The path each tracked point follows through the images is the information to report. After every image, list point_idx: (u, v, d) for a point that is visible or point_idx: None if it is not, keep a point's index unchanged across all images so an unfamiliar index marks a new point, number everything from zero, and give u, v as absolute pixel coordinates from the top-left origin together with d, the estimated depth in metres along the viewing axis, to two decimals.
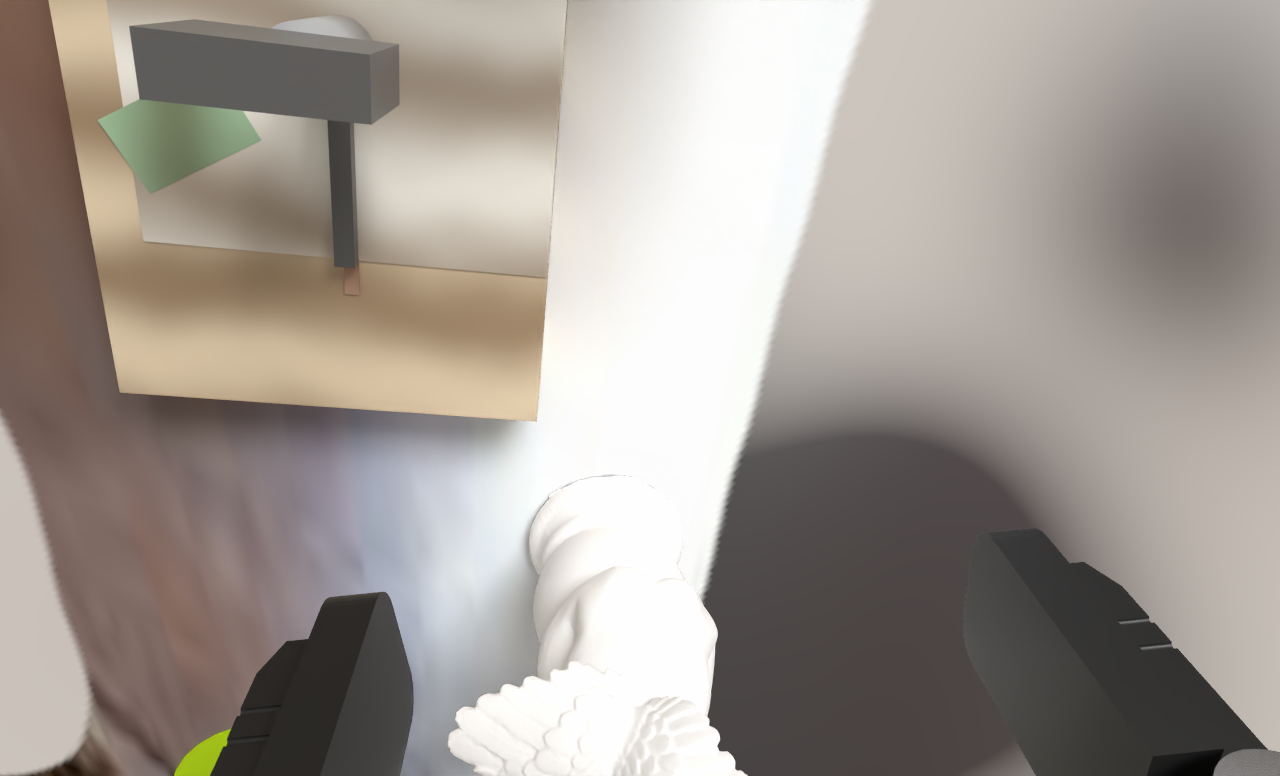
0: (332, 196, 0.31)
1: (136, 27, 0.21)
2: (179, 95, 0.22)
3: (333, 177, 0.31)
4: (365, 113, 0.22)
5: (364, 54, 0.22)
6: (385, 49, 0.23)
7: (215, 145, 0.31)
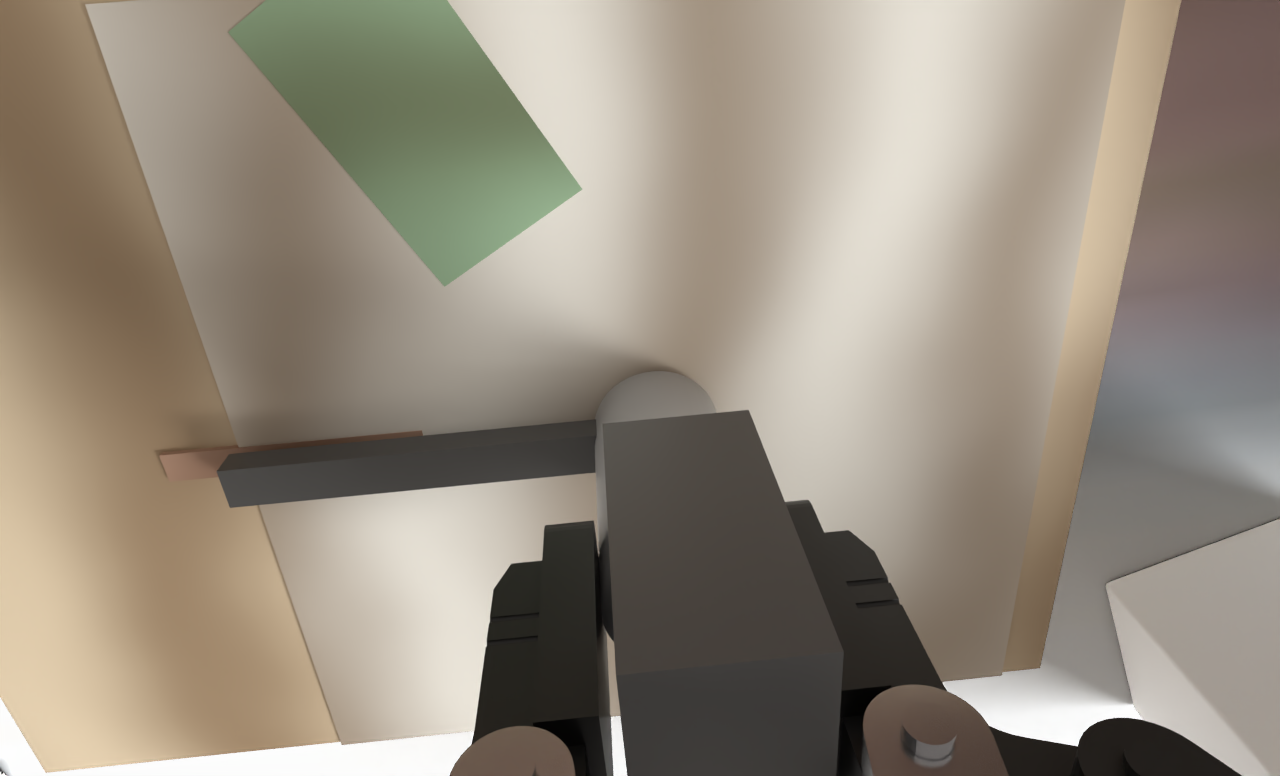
0: (374, 458, 0.15)
1: (841, 669, 0.06)
2: (651, 762, 0.07)
3: (415, 457, 0.15)
4: None
5: None
6: None
7: (403, 193, 0.14)
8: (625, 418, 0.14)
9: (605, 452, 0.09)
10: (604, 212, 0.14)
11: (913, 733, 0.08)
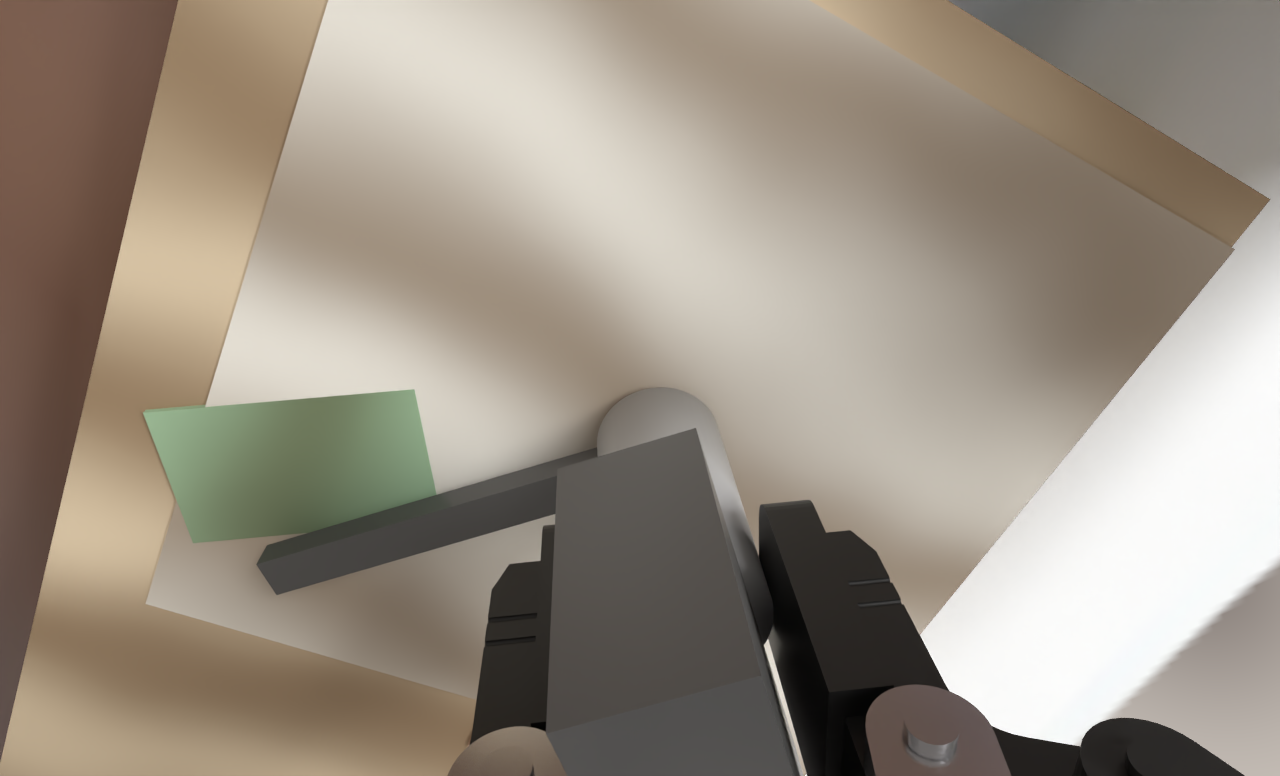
0: (394, 526, 0.15)
1: (764, 691, 0.07)
2: None
3: (432, 517, 0.15)
4: None
5: None
6: None
7: (354, 507, 0.16)
8: (616, 444, 0.14)
9: (557, 499, 0.10)
10: (444, 380, 0.15)
11: (915, 733, 0.08)
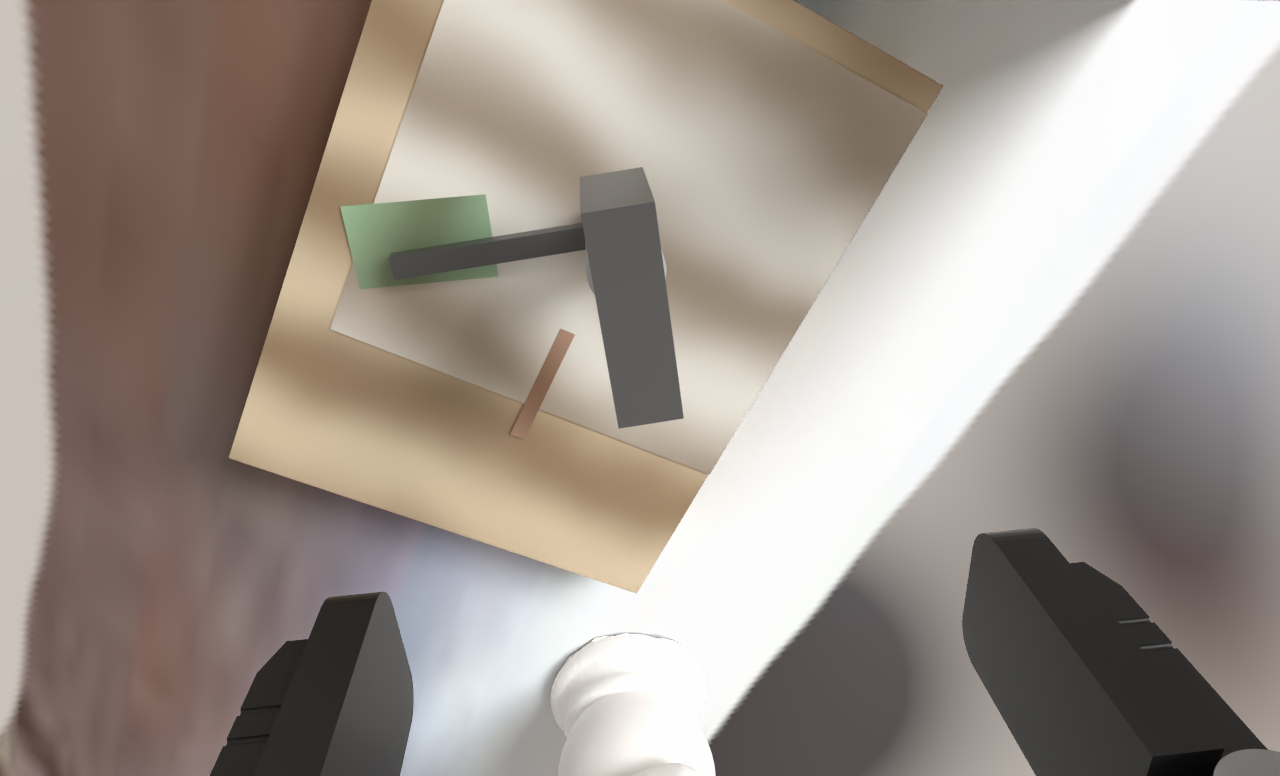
0: (469, 246, 0.28)
1: (655, 209, 0.19)
2: (596, 253, 0.20)
3: (490, 245, 0.28)
4: (627, 422, 0.22)
5: (682, 413, 0.22)
6: None
7: None
8: None
9: (580, 182, 0.22)
10: (501, 189, 0.28)
11: None
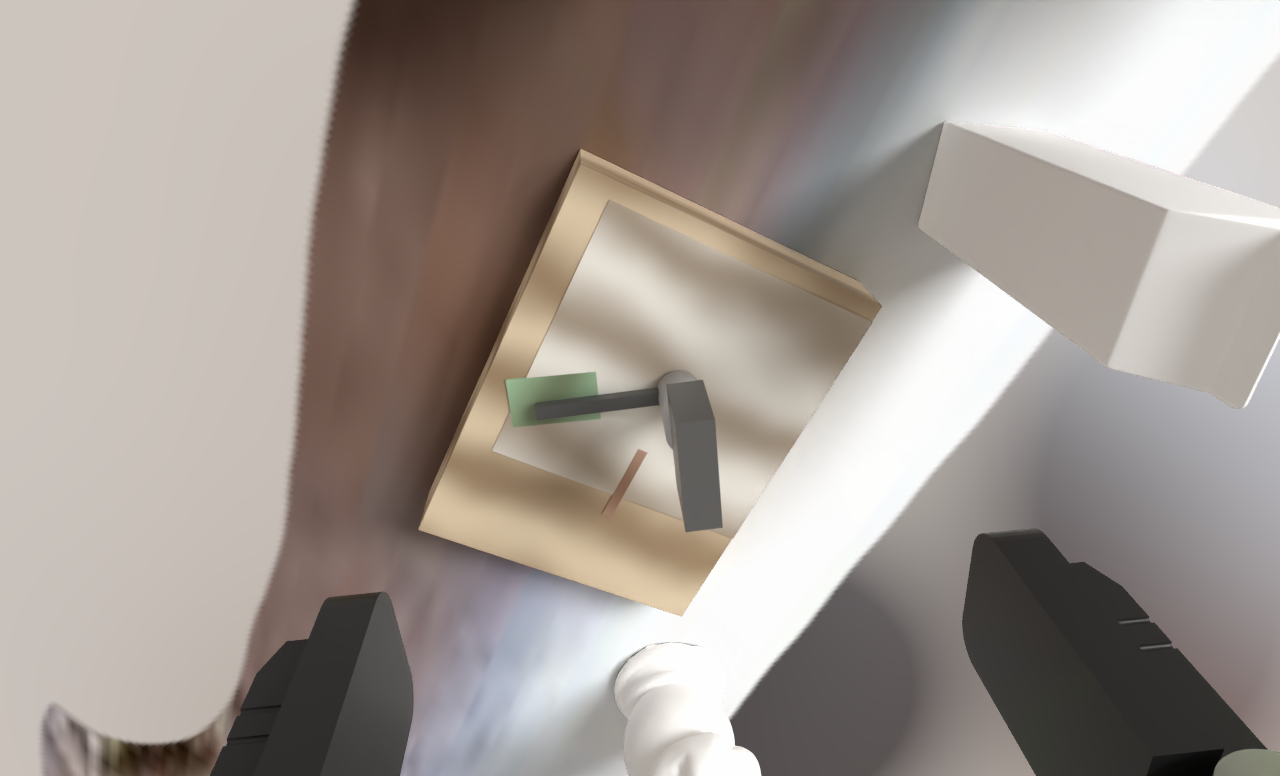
0: (585, 402, 0.45)
1: None
2: (681, 443, 0.37)
3: (599, 401, 0.45)
4: (691, 529, 0.39)
5: (722, 524, 0.39)
6: None
7: None
8: None
9: (668, 390, 0.39)
10: (605, 368, 0.45)
11: None
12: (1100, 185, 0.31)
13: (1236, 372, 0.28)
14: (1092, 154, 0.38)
